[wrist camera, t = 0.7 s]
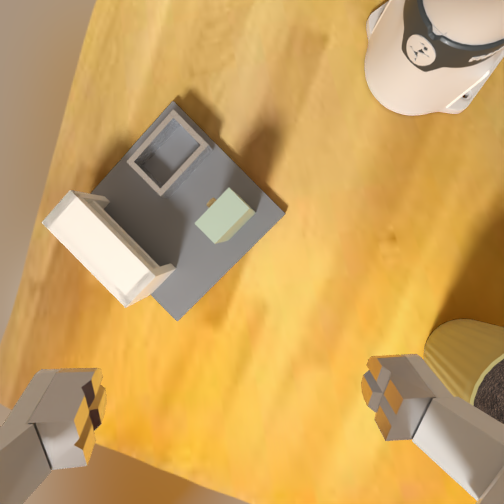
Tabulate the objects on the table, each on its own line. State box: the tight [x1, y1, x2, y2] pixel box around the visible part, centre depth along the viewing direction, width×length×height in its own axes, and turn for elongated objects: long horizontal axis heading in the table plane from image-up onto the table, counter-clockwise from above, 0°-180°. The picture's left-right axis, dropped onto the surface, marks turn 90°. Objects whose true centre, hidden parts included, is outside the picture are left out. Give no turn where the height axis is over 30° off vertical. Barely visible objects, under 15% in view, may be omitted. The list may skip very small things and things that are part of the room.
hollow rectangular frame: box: [127, 109, 213, 198], centre depth 45 cm, size 10×7×3 cm
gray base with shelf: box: [42, 101, 285, 321], centre depth 44 cm, size 24×24×9 cm
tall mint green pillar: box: [195, 188, 256, 244], centre depth 41 cm, size 6×4×10 cm
